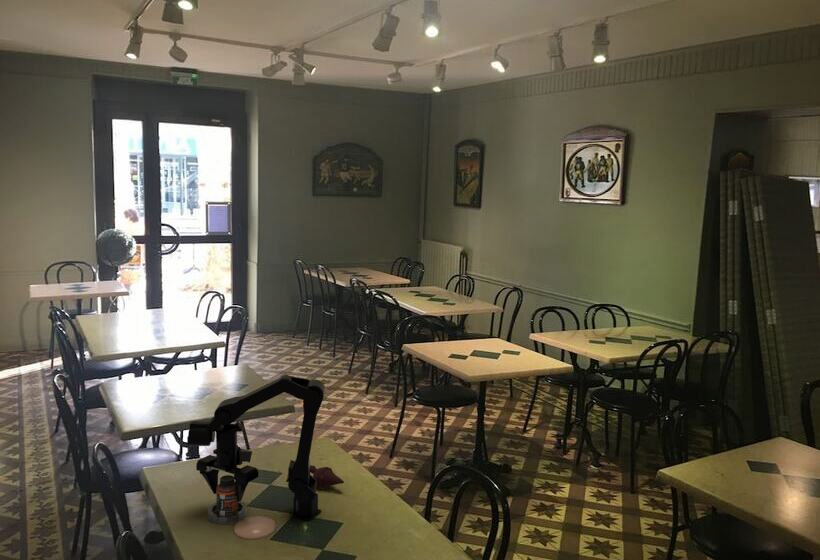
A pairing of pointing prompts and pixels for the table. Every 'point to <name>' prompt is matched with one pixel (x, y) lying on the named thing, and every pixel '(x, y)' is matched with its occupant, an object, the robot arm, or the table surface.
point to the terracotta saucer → (254, 527)
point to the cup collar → (227, 519)
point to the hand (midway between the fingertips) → (227, 497)
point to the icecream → (325, 477)
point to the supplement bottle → (226, 497)
